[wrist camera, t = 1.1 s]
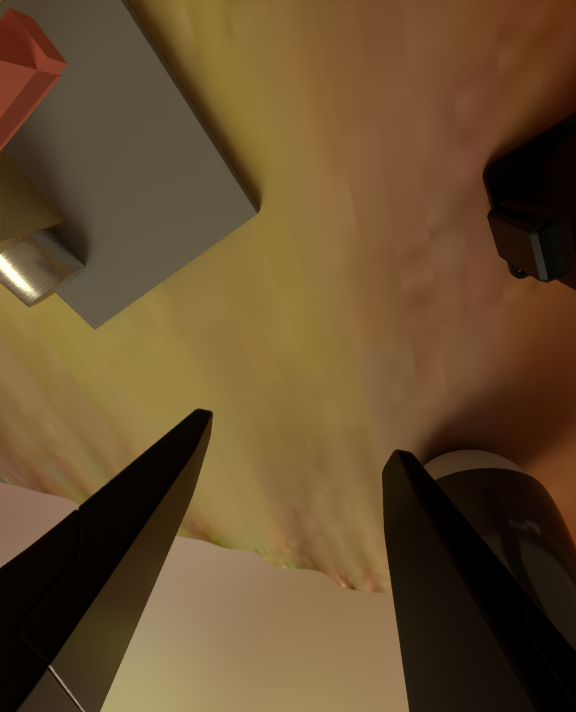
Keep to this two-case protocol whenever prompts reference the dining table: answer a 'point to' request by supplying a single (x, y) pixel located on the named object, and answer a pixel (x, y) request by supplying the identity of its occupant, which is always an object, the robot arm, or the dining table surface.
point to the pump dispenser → (516, 527)
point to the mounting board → (122, 157)
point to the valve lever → (24, 70)
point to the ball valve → (31, 239)
